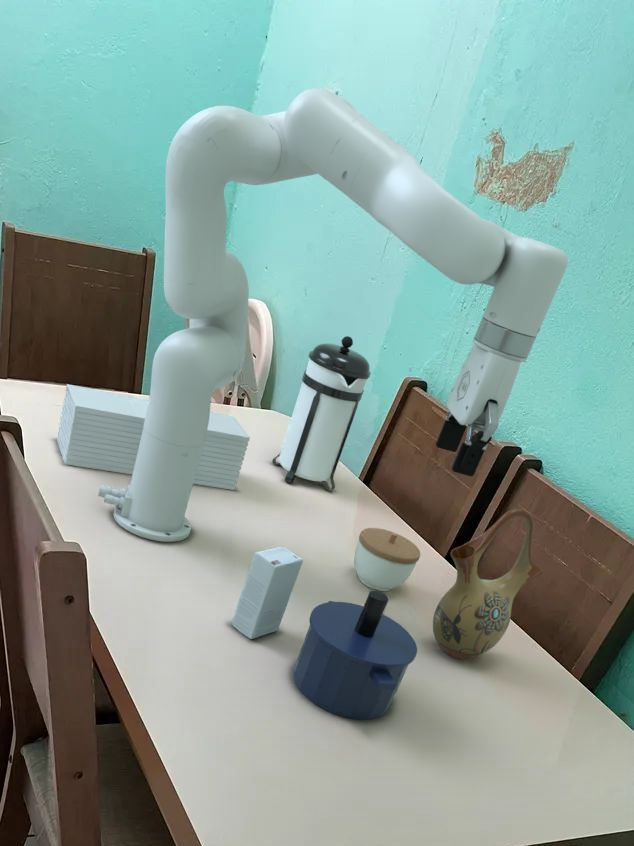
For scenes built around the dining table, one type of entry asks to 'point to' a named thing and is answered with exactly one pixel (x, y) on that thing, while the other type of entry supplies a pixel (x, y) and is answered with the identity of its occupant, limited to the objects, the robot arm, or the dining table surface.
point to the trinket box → (384, 558)
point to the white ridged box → (139, 436)
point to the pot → (344, 681)
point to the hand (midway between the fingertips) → (453, 460)
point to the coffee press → (323, 412)
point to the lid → (364, 632)
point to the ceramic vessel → (481, 595)
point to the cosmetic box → (266, 592)
